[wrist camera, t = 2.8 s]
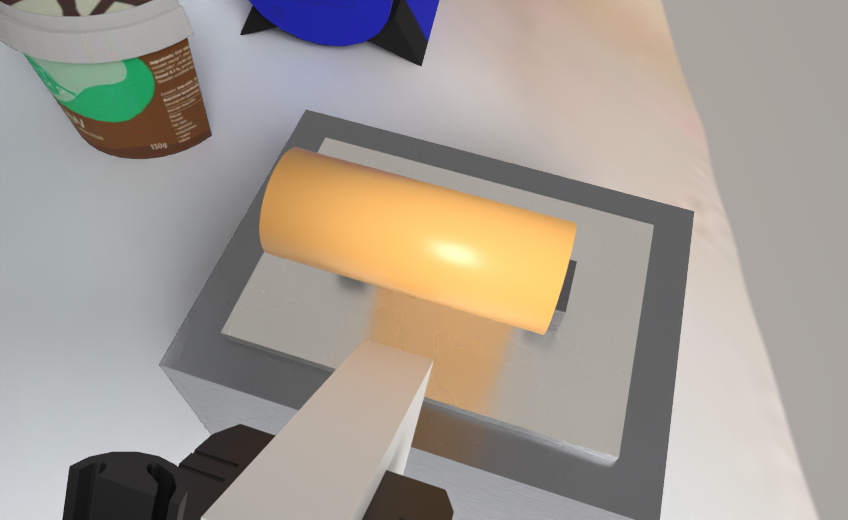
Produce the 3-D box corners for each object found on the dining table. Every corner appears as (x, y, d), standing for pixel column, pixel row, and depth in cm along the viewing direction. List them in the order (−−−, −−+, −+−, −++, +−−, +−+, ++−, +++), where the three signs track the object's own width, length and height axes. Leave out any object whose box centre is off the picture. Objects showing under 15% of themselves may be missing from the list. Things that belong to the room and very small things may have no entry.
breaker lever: (525, 321, 22) (547, 337, 11) (364, 274, 22) (247, 249, 12) (543, 256, 22) (582, 215, 11) (382, 212, 22) (282, 134, 12)
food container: (7, 104, 39) (-99, -55, 31) (95, 51, 42) (20, -108, 33) (142, 213, 35) (63, 67, 27) (229, 147, 38) (182, -5, 29)
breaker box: (582, 570, 27) (681, 514, 17) (220, 447, 29) (140, 340, 20) (624, 319, 33) (713, 181, 24) (324, 233, 35) (300, 76, 26)
